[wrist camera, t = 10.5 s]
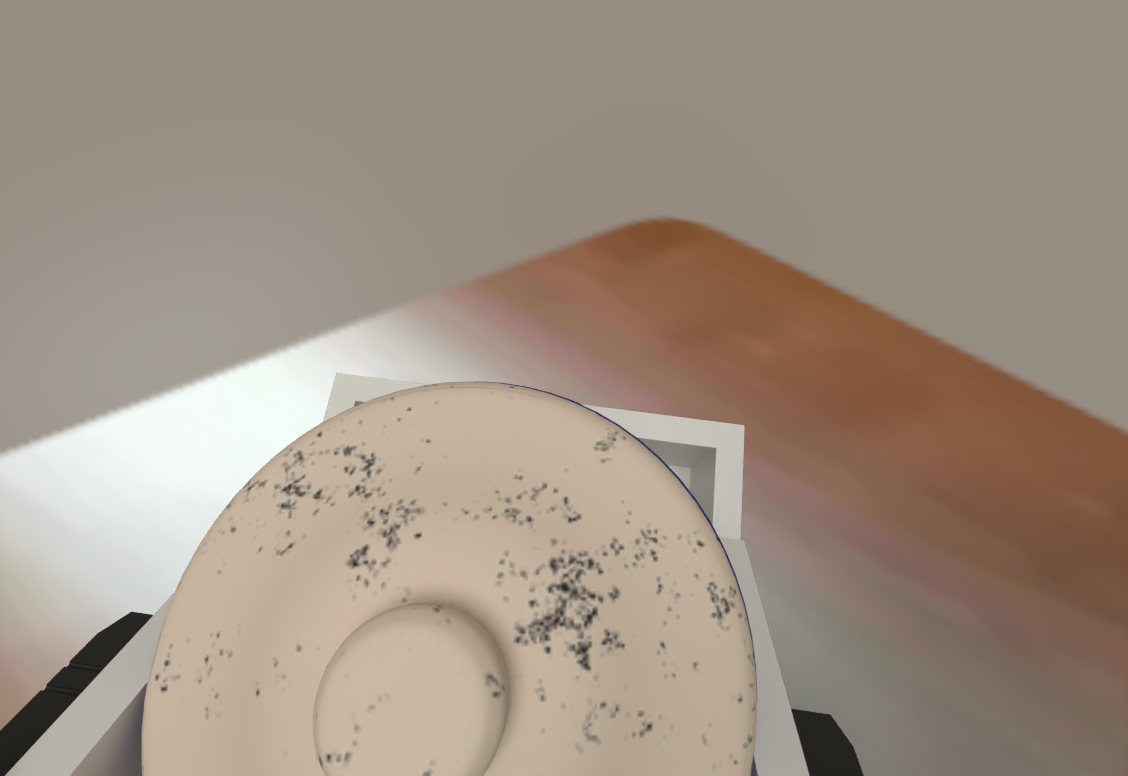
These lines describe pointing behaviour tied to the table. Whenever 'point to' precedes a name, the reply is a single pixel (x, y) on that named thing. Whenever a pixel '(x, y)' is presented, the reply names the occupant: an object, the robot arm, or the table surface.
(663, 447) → the white rectangular tray
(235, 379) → the table surface
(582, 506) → the teacup with lid
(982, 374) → the table surface
